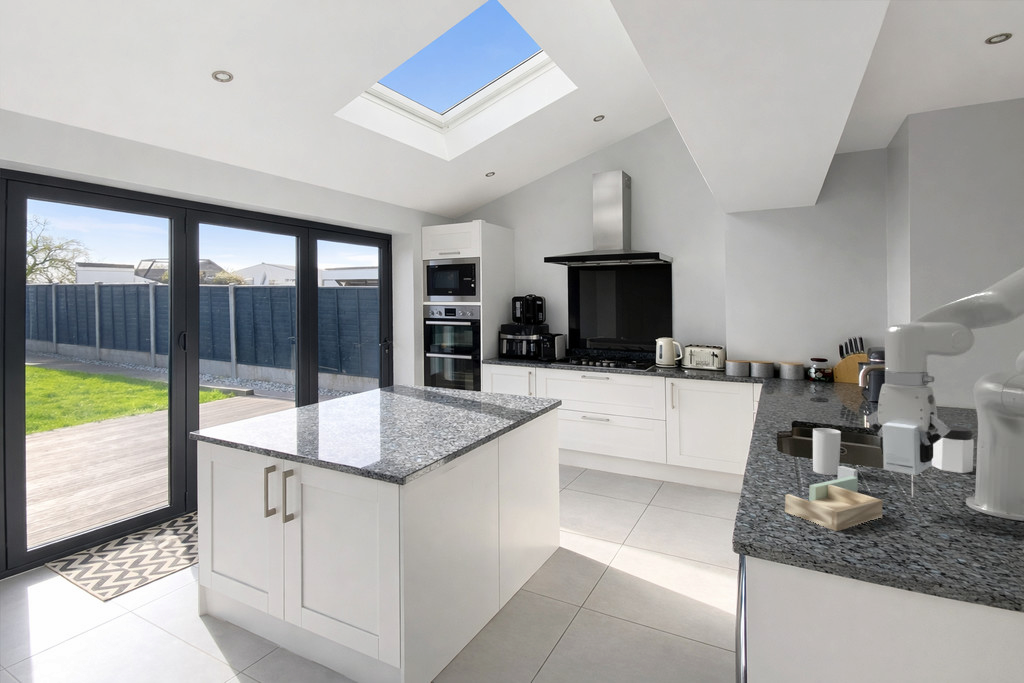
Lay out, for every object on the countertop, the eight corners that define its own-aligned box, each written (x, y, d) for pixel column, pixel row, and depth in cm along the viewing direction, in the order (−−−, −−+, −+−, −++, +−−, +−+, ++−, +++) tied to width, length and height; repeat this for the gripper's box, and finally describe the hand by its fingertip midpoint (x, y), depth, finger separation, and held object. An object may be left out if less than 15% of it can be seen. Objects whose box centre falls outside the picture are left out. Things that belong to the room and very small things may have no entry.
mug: (831, 477, 139) (832, 434, 138) (806, 471, 145) (807, 429, 144) (850, 471, 144) (851, 430, 144) (826, 465, 150) (827, 425, 149)
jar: (979, 474, 141) (980, 432, 141) (946, 472, 143) (947, 430, 142) (957, 465, 150) (958, 425, 150) (926, 463, 152) (927, 424, 151)
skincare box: (897, 460, 120) (897, 416, 120) (932, 466, 115) (932, 420, 114) (881, 469, 114) (881, 423, 113) (916, 476, 109) (916, 427, 108)
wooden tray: (882, 518, 111) (882, 500, 111) (836, 531, 104) (836, 512, 104) (829, 500, 121) (829, 484, 121) (784, 511, 114) (785, 494, 114)
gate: (861, 491, 127) (861, 471, 127) (815, 502, 119) (815, 480, 119) (840, 485, 131) (841, 465, 131) (795, 495, 124) (796, 475, 124)
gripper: (962, 381, 107) (962, 464, 108) (874, 374, 123) (874, 446, 123) (943, 384, 104) (943, 470, 105) (855, 377, 119) (855, 451, 120)
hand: (905, 456), depth 114 cm, fingers closed on skincare box, 7 cm apart
